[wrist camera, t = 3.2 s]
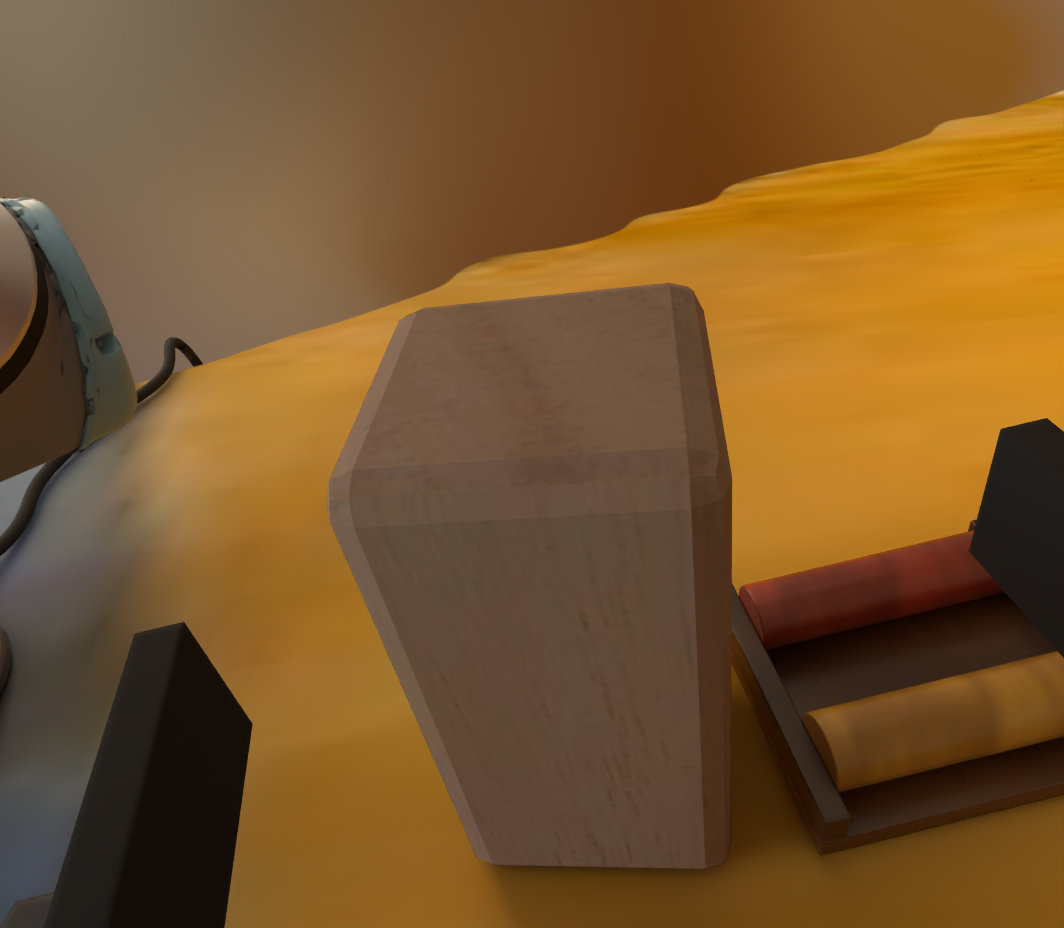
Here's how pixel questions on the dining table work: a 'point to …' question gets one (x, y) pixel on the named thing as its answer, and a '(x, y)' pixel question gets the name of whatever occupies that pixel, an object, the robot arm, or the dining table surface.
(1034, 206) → the dining table surface
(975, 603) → the brown tray
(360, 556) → the block
